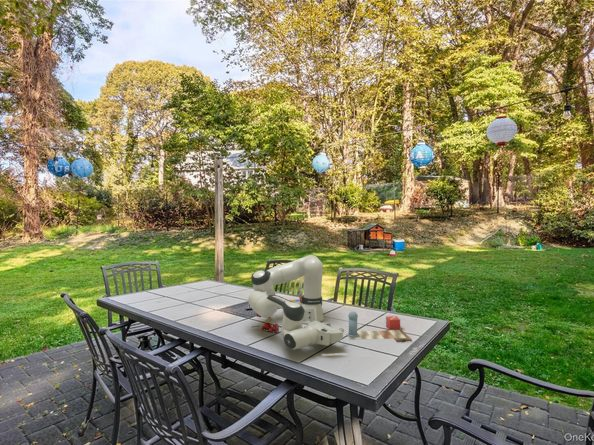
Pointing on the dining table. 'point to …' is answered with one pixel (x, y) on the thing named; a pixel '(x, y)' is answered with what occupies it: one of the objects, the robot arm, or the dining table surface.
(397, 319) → the red die
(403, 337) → the game track
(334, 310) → the dining table surface
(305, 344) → the robot arm
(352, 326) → the pawn
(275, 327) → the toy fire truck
